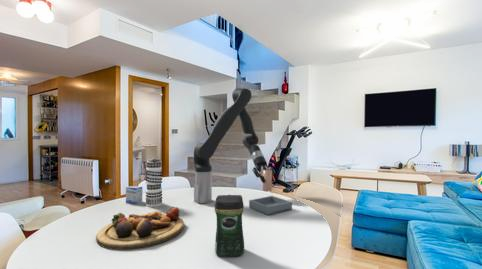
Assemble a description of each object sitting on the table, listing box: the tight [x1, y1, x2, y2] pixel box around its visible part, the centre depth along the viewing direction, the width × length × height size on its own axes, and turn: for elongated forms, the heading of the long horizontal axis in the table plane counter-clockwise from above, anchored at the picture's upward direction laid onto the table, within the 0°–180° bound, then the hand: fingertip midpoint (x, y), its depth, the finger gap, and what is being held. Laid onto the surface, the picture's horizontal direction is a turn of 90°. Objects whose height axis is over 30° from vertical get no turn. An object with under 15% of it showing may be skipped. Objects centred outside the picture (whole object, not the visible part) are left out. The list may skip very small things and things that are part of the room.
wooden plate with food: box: [95, 206, 185, 250], centre depth 97 cm, size 32×32×8 cm
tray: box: [248, 195, 293, 216], centre depth 126 cm, size 16×15×4 cm
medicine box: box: [125, 185, 143, 205], centre depth 138 cm, size 8×4×9 cm, turn 73°
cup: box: [262, 169, 273, 192], centre depth 144 cm, size 5×5×12 cm
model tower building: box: [144, 157, 164, 208], centre depth 134 cm, size 9×9×25 cm
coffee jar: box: [214, 194, 245, 258], centre depth 80 cm, size 10×8×19 cm
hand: (268, 181), depth 143 cm, fingers closed on cup, 5 cm apart
